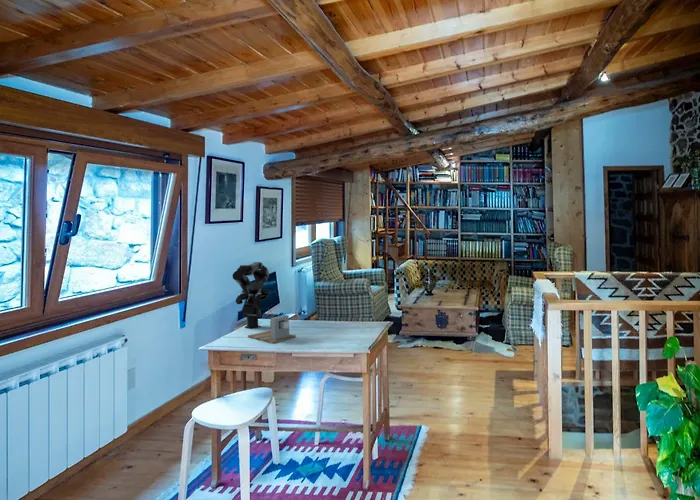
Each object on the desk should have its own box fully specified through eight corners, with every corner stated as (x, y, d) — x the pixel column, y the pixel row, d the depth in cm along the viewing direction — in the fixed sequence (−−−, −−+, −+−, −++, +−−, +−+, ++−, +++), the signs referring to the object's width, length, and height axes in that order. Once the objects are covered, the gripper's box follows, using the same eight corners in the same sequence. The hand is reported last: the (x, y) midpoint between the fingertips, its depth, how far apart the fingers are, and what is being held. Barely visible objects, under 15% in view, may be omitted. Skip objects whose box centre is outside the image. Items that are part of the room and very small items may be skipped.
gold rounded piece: (272, 329, 249) (271, 318, 249) (280, 327, 253) (279, 317, 253) (282, 331, 244) (282, 320, 243) (290, 329, 248) (290, 319, 247)
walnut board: (247, 337, 255) (247, 335, 255) (270, 331, 266) (270, 329, 266) (272, 343, 242) (272, 341, 242) (295, 337, 253) (295, 335, 253)
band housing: (270, 338, 247) (270, 318, 247) (284, 335, 254) (284, 314, 253) (275, 339, 245) (274, 318, 244) (289, 336, 252) (288, 315, 251)
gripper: (237, 278, 254) (251, 302, 248) (267, 274, 268) (280, 296, 261) (229, 292, 260) (243, 315, 254) (258, 287, 274) (271, 309, 267)
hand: (260, 309), depth 259 cm, fingers closed
